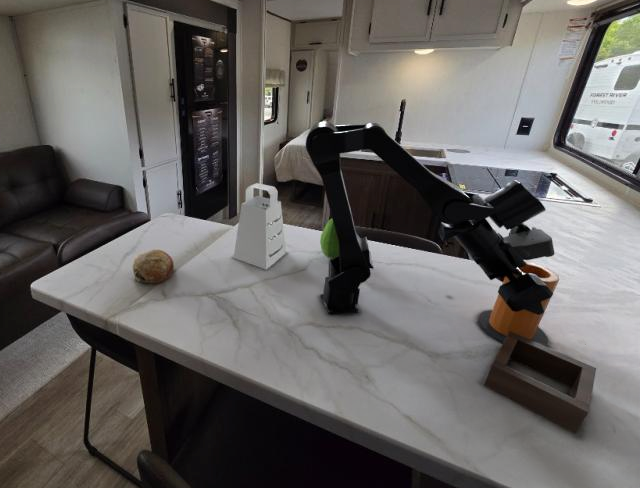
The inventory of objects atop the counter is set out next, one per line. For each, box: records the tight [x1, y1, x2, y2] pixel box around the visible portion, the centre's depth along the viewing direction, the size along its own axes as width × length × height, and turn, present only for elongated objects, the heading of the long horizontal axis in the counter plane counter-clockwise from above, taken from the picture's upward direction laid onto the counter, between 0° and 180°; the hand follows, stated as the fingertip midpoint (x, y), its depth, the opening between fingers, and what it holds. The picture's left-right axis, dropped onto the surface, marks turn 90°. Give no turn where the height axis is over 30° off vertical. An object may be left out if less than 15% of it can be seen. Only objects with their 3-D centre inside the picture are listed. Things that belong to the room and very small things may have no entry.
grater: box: [233, 182, 287, 270], centre depth 90 cm, size 10×10×20 cm
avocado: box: [319, 218, 339, 260], centre depth 90 cm, size 8×8×12 cm
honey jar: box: [489, 261, 560, 339], centre depth 64 cm, size 7×7×13 cm
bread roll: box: [132, 249, 174, 284], centre depth 85 cm, size 10×10×8 cm
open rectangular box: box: [483, 331, 597, 435], centre depth 54 cm, size 11×11×4 cm
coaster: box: [477, 309, 549, 347], centre depth 67 cm, size 11×11×1 cm
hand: (530, 301), depth 64 cm, fingers closed on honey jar, 7 cm apart
